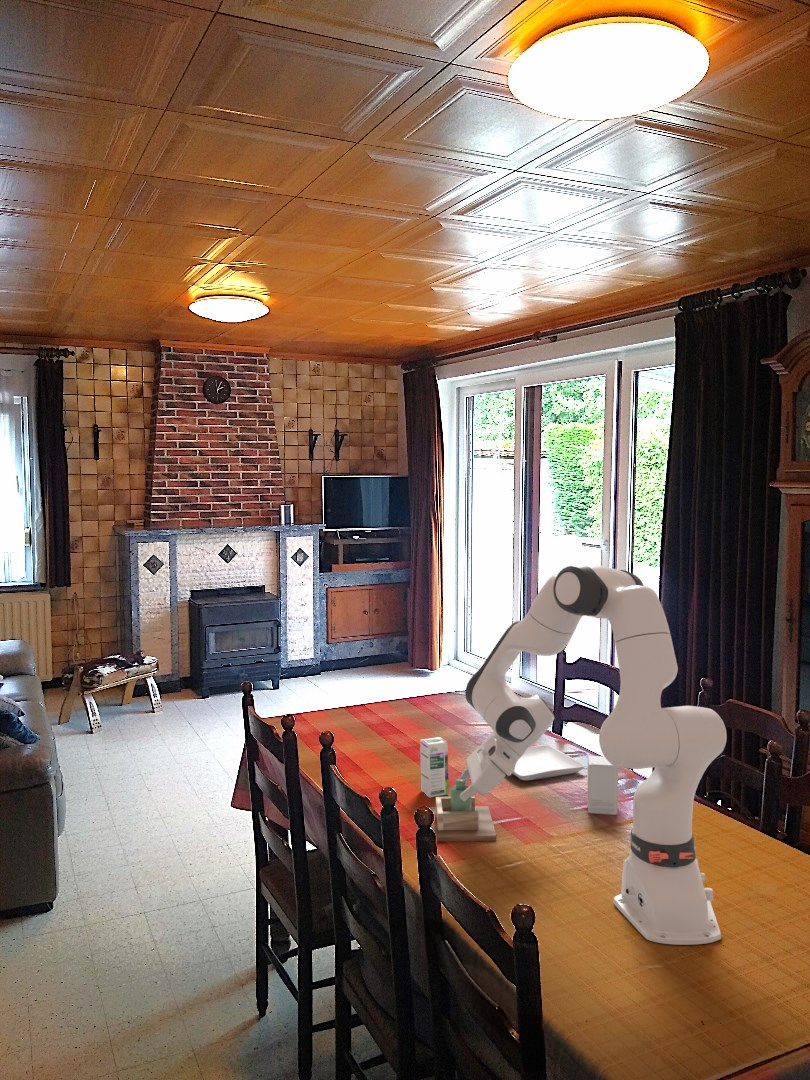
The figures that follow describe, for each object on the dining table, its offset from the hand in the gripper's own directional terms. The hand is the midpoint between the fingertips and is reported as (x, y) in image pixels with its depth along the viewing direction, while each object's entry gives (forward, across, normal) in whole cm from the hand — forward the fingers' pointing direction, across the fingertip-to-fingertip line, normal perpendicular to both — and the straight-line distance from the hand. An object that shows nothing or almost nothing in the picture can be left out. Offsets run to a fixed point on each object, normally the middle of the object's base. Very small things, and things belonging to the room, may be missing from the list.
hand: (459, 791), depth 210 cm
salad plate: (-11, -40, +24) cm, 48 cm away
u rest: (+6, 0, +6) cm, 8 cm away
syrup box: (+10, -22, +2) cm, 24 cm away
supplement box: (-20, -9, +32) cm, 39 cm away
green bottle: (+5, 0, +5) cm, 7 cm away
